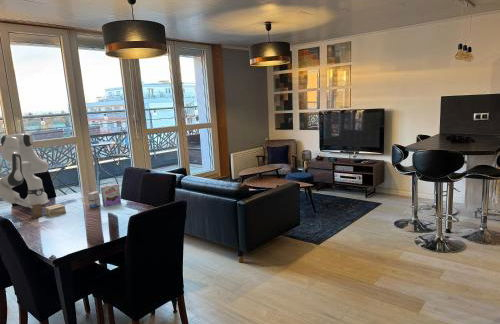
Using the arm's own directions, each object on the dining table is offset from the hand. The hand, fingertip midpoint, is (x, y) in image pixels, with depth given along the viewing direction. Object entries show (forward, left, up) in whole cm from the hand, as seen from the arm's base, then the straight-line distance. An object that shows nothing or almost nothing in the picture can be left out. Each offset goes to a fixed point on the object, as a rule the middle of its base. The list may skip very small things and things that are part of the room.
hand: (29, 206), depth 260 cm
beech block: (+6, +15, -9) cm, 19 cm away
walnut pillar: (0, +4, -9) cm, 10 cm away
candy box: (+25, +52, -9) cm, 59 cm away
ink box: (+16, +42, -9) cm, 46 cm away
